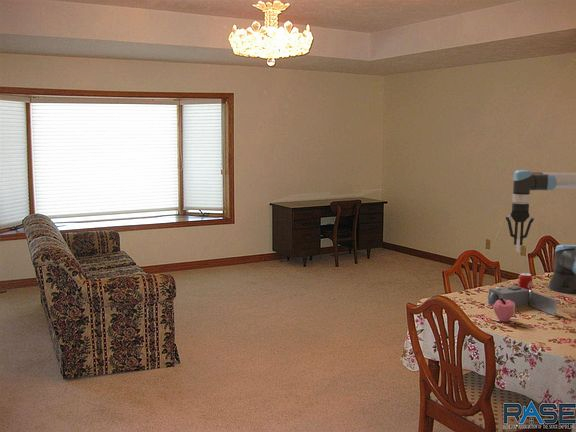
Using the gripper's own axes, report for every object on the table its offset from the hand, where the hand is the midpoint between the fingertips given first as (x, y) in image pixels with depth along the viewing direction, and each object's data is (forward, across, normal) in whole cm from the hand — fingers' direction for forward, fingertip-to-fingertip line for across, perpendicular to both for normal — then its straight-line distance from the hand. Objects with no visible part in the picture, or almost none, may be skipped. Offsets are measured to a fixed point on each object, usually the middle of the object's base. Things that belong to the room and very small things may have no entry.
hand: (517, 251), depth 296 cm
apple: (+22, -2, -42) cm, 48 cm away
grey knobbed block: (+22, -3, -16) cm, 27 cm away
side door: (+22, +13, -19) cm, 32 cm away
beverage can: (+23, +4, -2) cm, 23 cm away
